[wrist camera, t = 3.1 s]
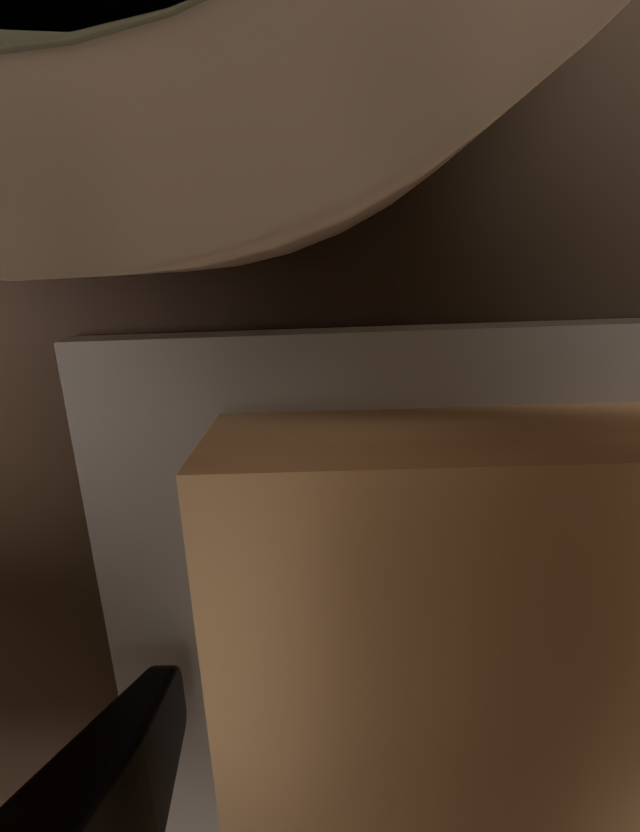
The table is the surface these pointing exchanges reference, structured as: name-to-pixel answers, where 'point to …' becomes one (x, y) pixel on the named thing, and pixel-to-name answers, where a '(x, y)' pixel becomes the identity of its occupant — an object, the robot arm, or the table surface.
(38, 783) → the robot arm
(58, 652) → the table surface
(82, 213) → the bowl
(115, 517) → the mat
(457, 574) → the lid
